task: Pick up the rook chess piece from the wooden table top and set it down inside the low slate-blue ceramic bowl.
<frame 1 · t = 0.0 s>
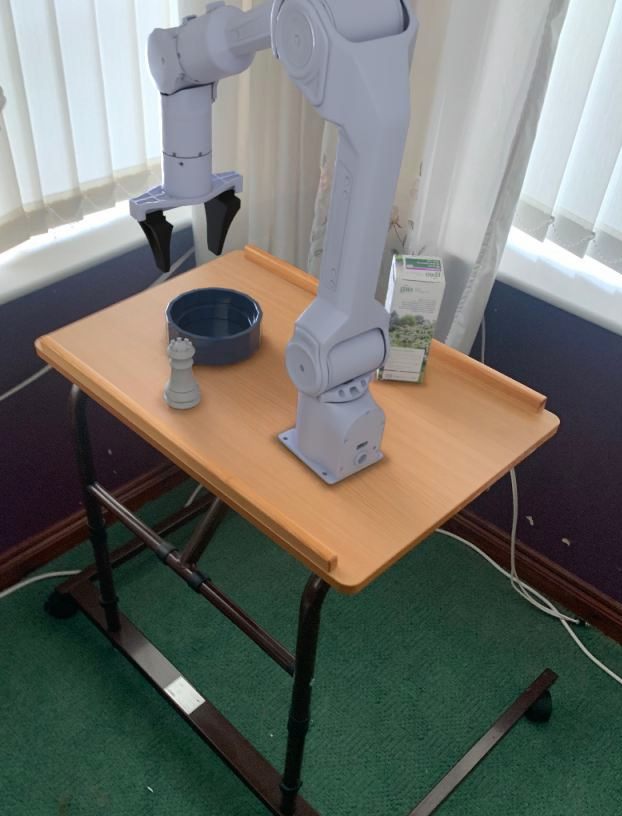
hand: (189, 260, 98), 10 cm above the table, tool pointing down, fingers open, 7 cm apart
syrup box: (398, 371, 101), on the table
rook chess piece: (182, 401, 95), on the table
bowl: (214, 342, 104), on the table
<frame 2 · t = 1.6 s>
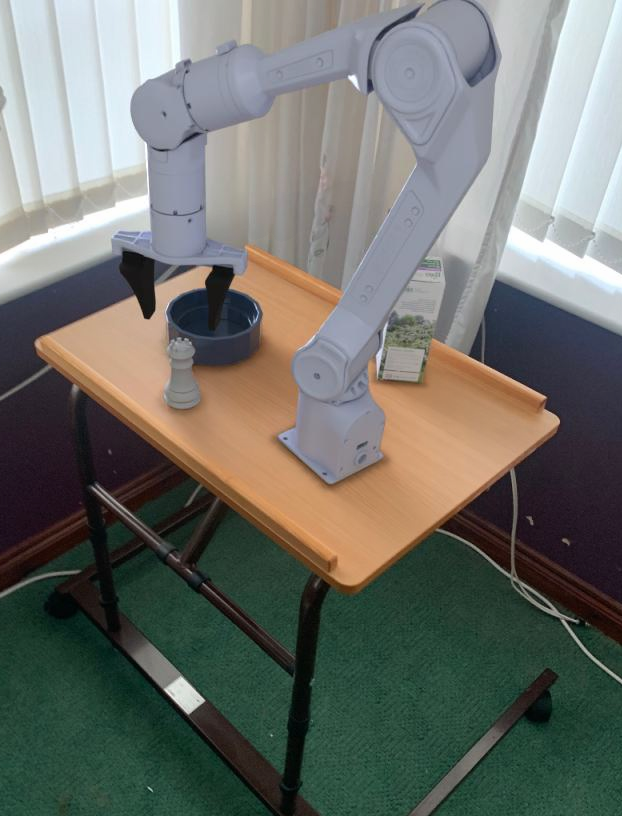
hand: (181, 320, 90), 10 cm above the table, tool pointing down, fingers open, 7 cm apart
nothing on the table moved.
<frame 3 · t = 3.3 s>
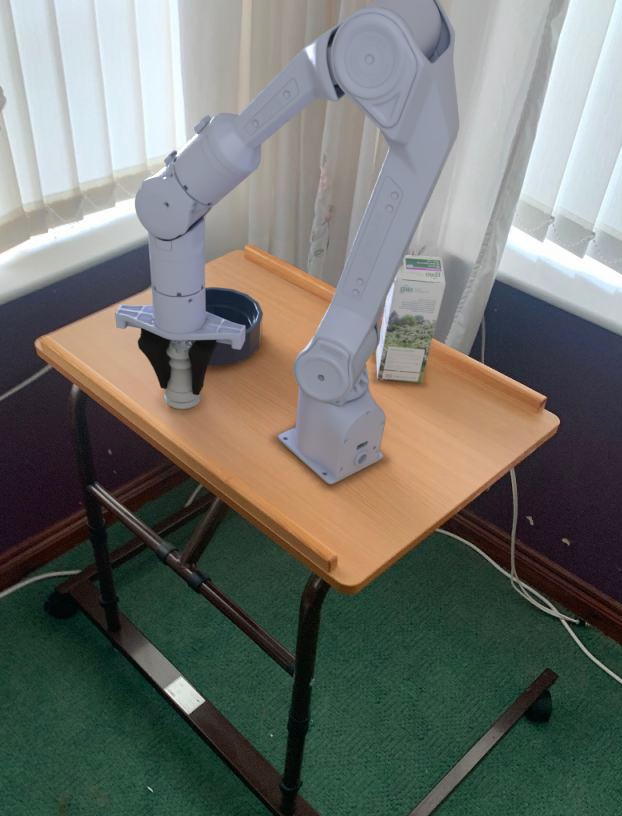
hand: (182, 386, 94), 2 cm above the table, tool pointing down, fingers closed on rook chess piece, 3 cm apart
rook chess piece: (182, 401, 95), on the table, touching gripper
everything else where it was.
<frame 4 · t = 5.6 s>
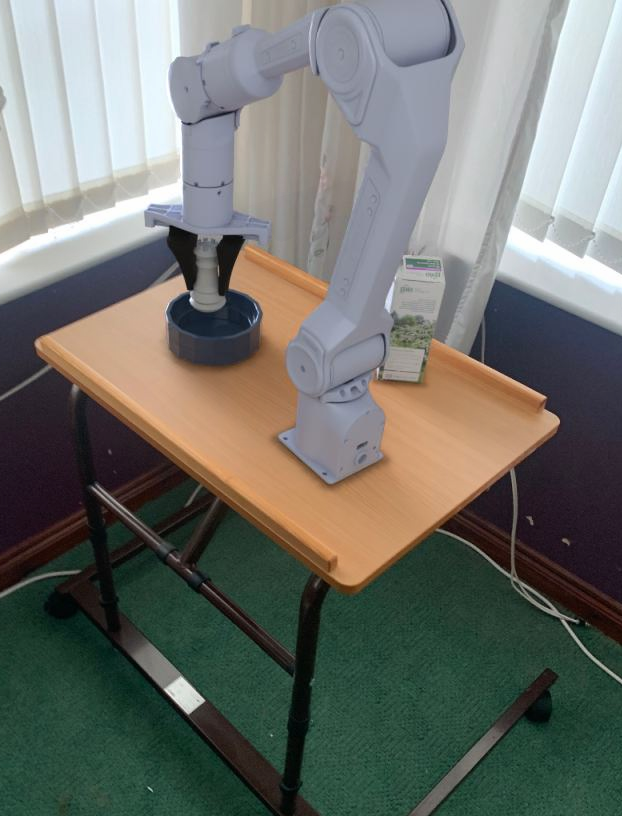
hand: (208, 289, 96), 9 cm above the table, tool pointing down, fingers closed on rook chess piece, 3 cm apart
rook chess piece: (207, 305, 97), point 7 cm above the table, touching gripper
everything else where it was.
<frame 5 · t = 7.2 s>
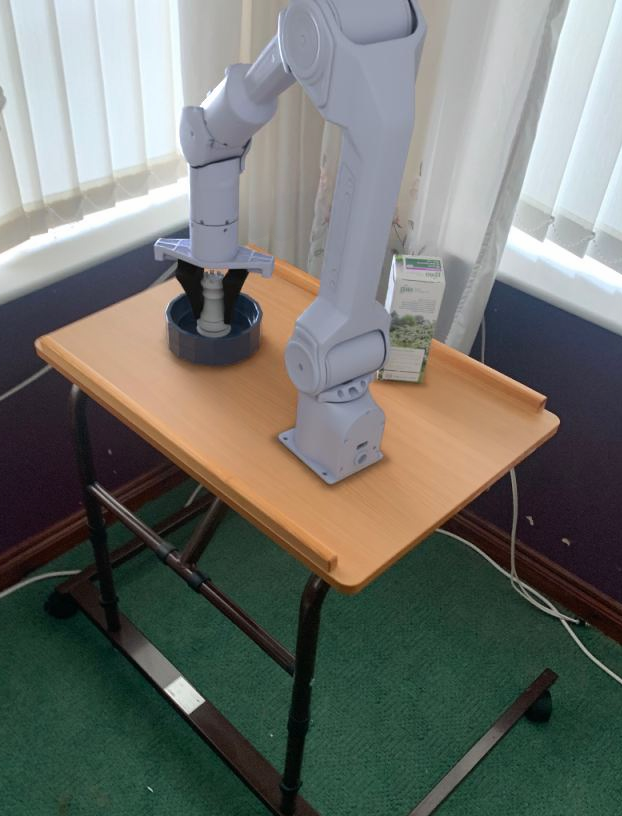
hand: (214, 317, 101), 4 cm above the table, tool pointing down, fingers closed on rook chess piece, 3 cm apart
rook chess piece: (213, 332, 103), point 2 cm above the table, touching gripper
everything else where it was.
when the fingers open (3 cm above the table, at t = 7.9 s): rook chess piece stays where it is, resting on bowl.
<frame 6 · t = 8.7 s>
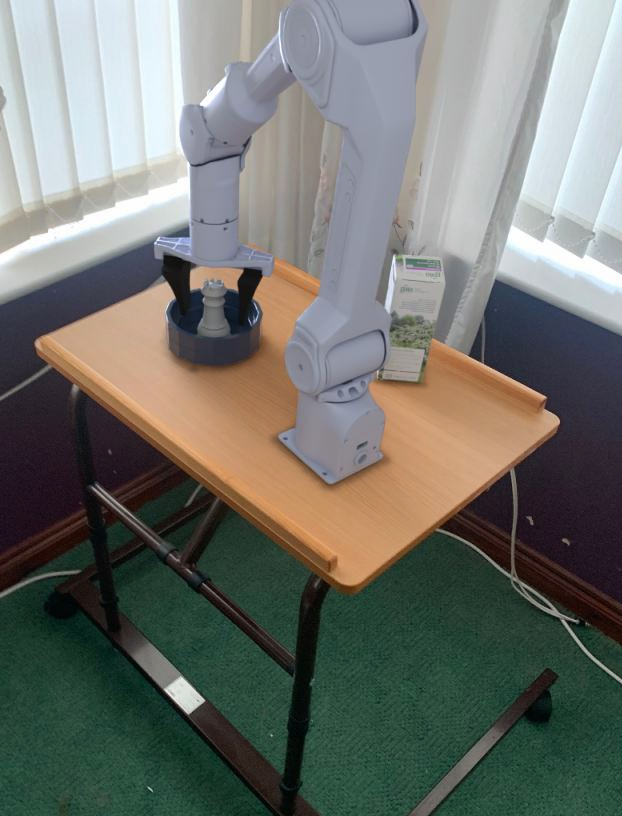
hand: (214, 316, 101), 4 cm above the table, tool pointing down, fingers open, 7 cm apart
rook chess piece: (213, 339, 104), resting on bowl
everything else where it was.
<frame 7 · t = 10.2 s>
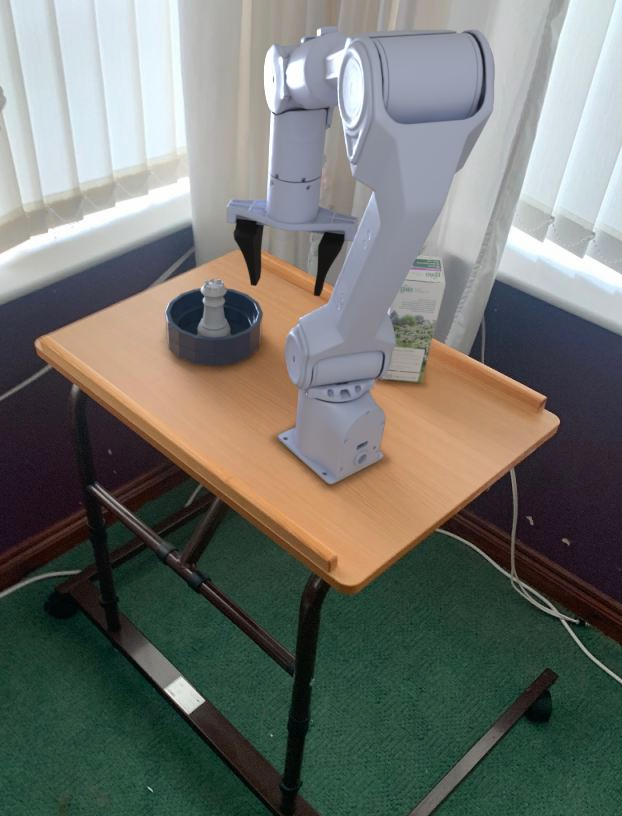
hand: (286, 286, 94), 10 cm above the table, tool pointing down, fingers open, 7 cm apart
nothing on the table moved.
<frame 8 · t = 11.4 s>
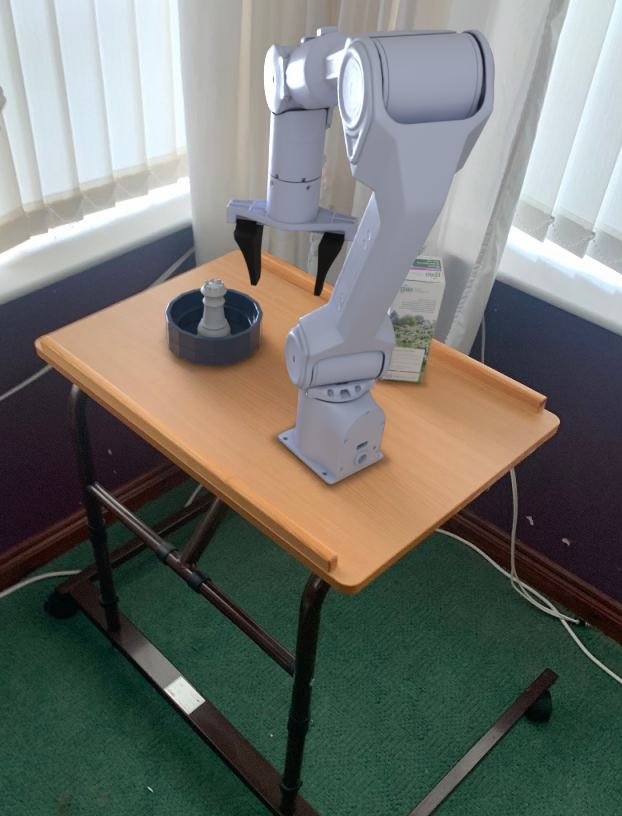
hand: (286, 286, 94), 10 cm above the table, tool pointing down, fingers open, 7 cm apart
nothing on the table moved.
at the end: rook chess piece inside the target area in the bowl (0.0 cm from its centre), point 0.4 cm above the bowl's base; the gripper is holding nothing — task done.
